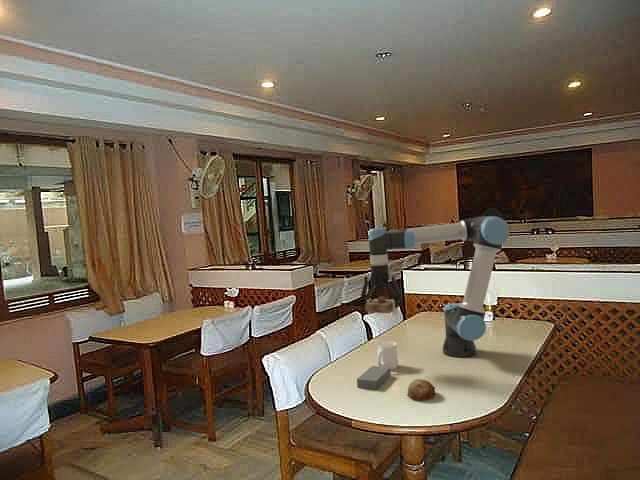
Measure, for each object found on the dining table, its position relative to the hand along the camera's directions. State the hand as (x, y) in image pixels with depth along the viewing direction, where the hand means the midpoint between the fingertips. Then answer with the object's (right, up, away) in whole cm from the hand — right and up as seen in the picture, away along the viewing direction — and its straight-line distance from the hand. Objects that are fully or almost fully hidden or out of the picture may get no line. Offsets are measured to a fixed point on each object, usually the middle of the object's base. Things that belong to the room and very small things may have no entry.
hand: (382, 314), depth 205 cm
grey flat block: (-5, -25, -13) cm, 29 cm away
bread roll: (+11, -26, -30) cm, 41 cm away
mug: (+2, -24, +2) cm, 24 cm away
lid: (0, +2, 0) cm, 2 cm away
